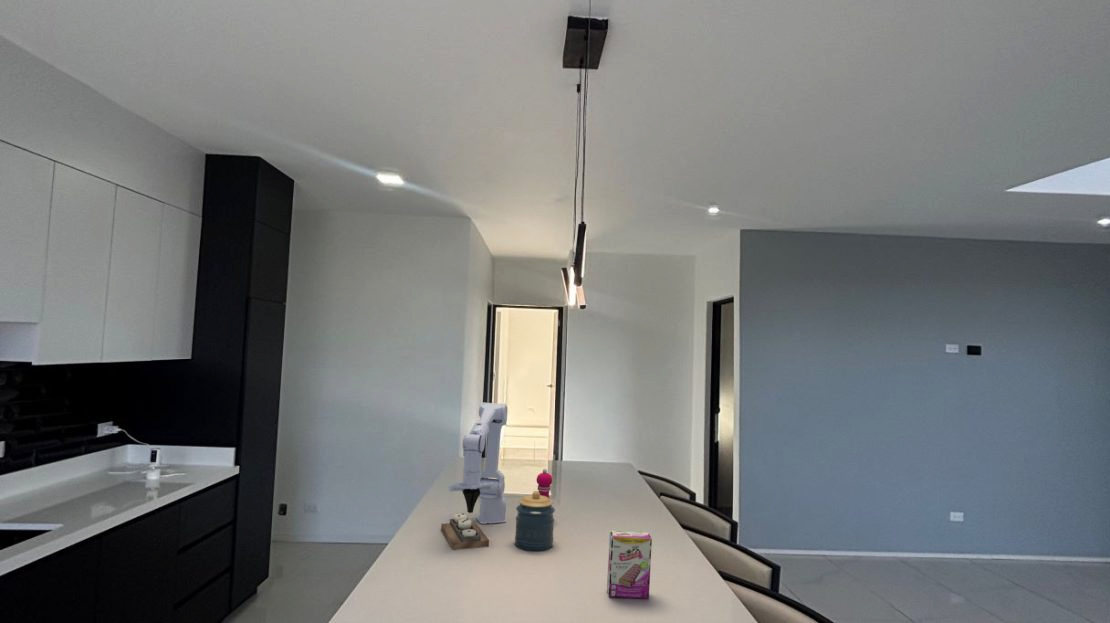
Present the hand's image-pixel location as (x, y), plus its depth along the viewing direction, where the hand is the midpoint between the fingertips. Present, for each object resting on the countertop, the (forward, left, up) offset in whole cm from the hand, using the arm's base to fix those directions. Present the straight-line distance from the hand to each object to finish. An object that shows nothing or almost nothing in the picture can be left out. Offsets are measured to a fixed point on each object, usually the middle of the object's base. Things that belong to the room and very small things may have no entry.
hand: (470, 512), depth 190 cm
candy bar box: (-33, +49, -11) cm, 60 cm away
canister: (-21, +6, -11) cm, 24 cm away
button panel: (0, -6, -10) cm, 12 cm away
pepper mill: (-32, -15, -11) cm, 37 cm away
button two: (0, -13, -7) cm, 14 cm away
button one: (0, 0, -8) cm, 8 cm away
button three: (0, -6, -7) cm, 9 cm away
